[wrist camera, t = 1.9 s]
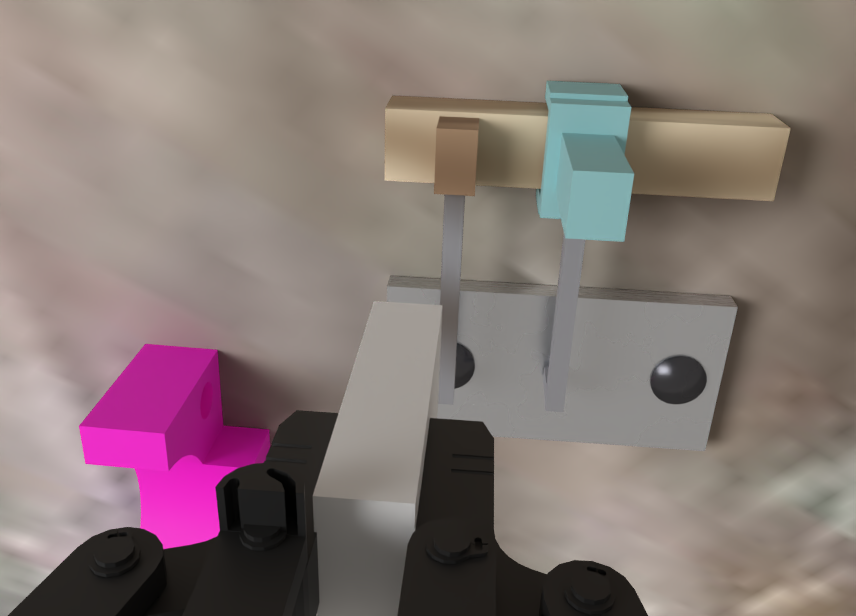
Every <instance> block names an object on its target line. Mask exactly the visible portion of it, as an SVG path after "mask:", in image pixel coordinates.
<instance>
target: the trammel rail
mask: <svg viewBox="0 0 856 616" xmlns="http://www.w3.org/2000/svg"><path fill="white" fill-rule="evenodd" d="M548 112H549V110H548V106H547V103H536V102H515V101H494V100H473V99H452V98H431V97H410V96H392V97H391V99H390V101H389V103H388V104H387V106H386V108H385V181H404V182H423V183H434V194H445V200H444V224H443V247H442V271H441V294H440V305H442V326H441V349H440V371H439V394H438V404H448V405H453V402H454V389H455V377H456V350H457V332H458V314H459V295H460V277H461V259H462V240H463V222H464V204H465V196H475V185H479V186H498V187H516V188H535V189H541V184H542V173H543V163H544V153H545V143H546V133H547V123H548ZM790 129H791V128H790V127H788V126H787V125H786V124H784V123H783V122H782V121H780V120H779V119H778V118H776V117H775V116H774V115H772V114H766V113H745V112H724V111H703V110H682V109H661V108H640V107H631V113H630V120H629V127H628V134H627V141H626V148H625V157H626V159H627V161H628V163H629V165H630V166H631V168H632V170H633V172H634V179H633V186H632V192H631V194H648V195H667V196H685V197H704V198H723V199H742V200H760V201H774V198H775V193H776V189H777V185H778V181H779V176H780V172H781V168H782V164H783V159H784V155H785V151H786V146H787V142H788V138H789V134H790Z"/></svg>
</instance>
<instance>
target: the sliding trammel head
mask: <svg viewBox="0 0 856 616" xmlns="http://www.w3.org/2000/svg"><path fill="white" fill-rule="evenodd" d="M545 99H546V102H547V106H548V110H549V112H548V123H547V133H546V143H545V153H544V163H543V173H542V184H541V189H536V200H537V207H538V214H540V218H554V219H561V221H562V226H563V230H564V236H563V245H562V254H561V262H560V271H559V280H558V289H557V297H556V306H555V315H554V324H553V332H552V341H551V350H550V359H549V367H544V376H543V387H544V397H545V410H546V411H552V412H563V411H564V403H565V395H566V387H567V379H568V371H569V364H570V356H571V348H572V340H573V332H574V324H575V317H576V309H577V301H578V293H579V285H580V277H581V270H582V262H583V254H584V246H585V239H586V240H603V241H621V242H624V239H625V232H626V225H627V219H628V212H629V206H630V199H631V192H632V186H633V179H634V172H633V170H632V168H631V166H630V165H629V163H628V161H627V159H626V157H625V148H626V141H627V134H628V127H629V120H630V113H631V106H630V104H629V103H628V95H627V94H626V92H625V91H624V90H623V88H622V87H621V85H620V84H606V83H585V82H563V81H547V84H546V95H545Z"/></svg>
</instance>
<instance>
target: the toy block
mask: <svg viewBox="0 0 856 616" xmlns="http://www.w3.org/2000/svg"><path fill="white" fill-rule="evenodd" d="M79 429H80V434H81V440H82V446H83V452H84V458H85V463H86V464H93V465H104V466H115V467H125V468H135V471H136V474H137V477H138V482H139V488H140V497H141V527H140V528H141V529H145V530H147V531H149V532H151V533H153V534H155V535H156V536H157V537H158V539H159V540H160V541H161V543H162V544H163V549H167V548H173V547H179V546H185V545H192V544H196V543H200V542H204V541H207V540H209V539H212V538H214V537H217V536H218V534H219V531H220V527H219V517H218V508H217V499H216V489H215V487H216V485H217V484H218V483H219V482H220V481H221V479H222V478H223V477H224V476H225V475H227V474H229V473H230V472H232V471H234V470H235V469H237V468H240V467H244V466H247V465H250V464H255V463H264V461H266V456H267V453H268V451H269V449H270V434H269V430H268V429H257V428H245V427H234V426H223V416H222V403H221V389H220V376H219V363H218V350H213V349H201V348H189V347H176V346H164V345H152V344H145V345H144V346H143V348H142V349H141V350H140V351H139V352H138V354H137V355H136V356H135V357H134V359H133V360H132V361H131V362H130V364H129V365H128V366H127V367H126V369H125V370H124V371H123V372H122V374H121V375H120V376H119V377H118V378H117V380H116V381H115V382H114V383H113V385H112V386H111V387H110V388H109V390H108V391H107V392H106V393H105V395H104V396H103V397H102V398H101V399H100V401H99V402H98V403H97V404H96V406H95V407H94V408H93V409H92V411H91V412H90V413H89V414H88V416H87V417H86V418H85V419H84V421H83V422H82V423H81V424H80V425H79Z"/></svg>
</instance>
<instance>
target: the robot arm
mask: <svg viewBox="0 0 856 616" xmlns="http://www.w3.org/2000/svg"><path fill="white" fill-rule="evenodd" d="M441 326H442V305H429V304H413V303H397V302H381V301H374V302H373V306H372V309H371V312H370V315H369V318H368V321H367V325H366V328H365V331H364V334H363V337H362V341H361V344H360V347H359V350H358V353H357V356H356V360H355V363H354V366H353V369H352V372H351V376H350V379H349V382H348V385H347V388H346V391H345V395H344V398H343V401H342V404H341V407H340V411H339V413H327V412H312V411H298V410H297V411H296V412H294V413H293V414H292V415H291V416H290V417H288V418H287V419H286V420H285V421H284V422H283V423H281V424H280V425H279V427H278V430H277V432H276V434H275V437H274V439H273V442H272V446H270V449H269V451H268V453H267V456H266V461H264V463H255V464H250V465H247V466H244V467H240V468H237V469H235V470H234V471H232V472H230V473H229V474H227V475H225V476H224V477H223V478H222V479H221V481H220V482H219V483H218V484H217V485H216V487H215V489H216V499H217V508H218V517H219V527H220V531H219V534H218V536H217V537H214V538H212V539H209V540H207V541H204V542H200V543H196V544H192V545H185V546H179V547H173V548H167V549H163V544H162V543H161V541H160V540H159V539H158V537H157V536H156V535H155V534H153V533H151V532H149V531H147V530H145V529H141V528H132V527H124V528H118V529H111V530H108V531H105V532H103V533H100V534H98V535H95V536H93V537H91V538H90V539H88V540H87V541H86V542H84V543H83V544H81V545H80V546H79V547H77V548H76V549H75V550H74V551H73V552H72V553H71V554H70V555H69V556H68V557H67V558H66V559H65V560H64V561H63V562H62V563H61V564H60V565H59V566H58V567H57V568H56V569H55V570H54V571H53V572H52V573H51V574H50V575H49V576H48V577H47V578H46V579H45V580H44V581H43V582H42V583H41V584H40V585H39V586H38V587H36V588H35V589H34V590H33V591H32V592H31V593H30V594H29V595H28V596H27V597H26V598H25V599H24V600H23V601H22V602H21V603H20V604H19V605H18V606H17V607H16V608H15V609H14V610H13V611H12V612H11V613H10V614H9V615H8V616H316V614H317V616H648V615H647V613H646V611H645V609H644V607H643V605H642V603H641V601H640V599H639V597H638V595H637V593H636V591H635V589H634V588H633V587H632V586H631V584H630V583H629V582H628V581H627V579H626V578H625V577H624V576H623V575H621V574H620V573H618V572H617V571H615V570H614V569H612V568H611V567H609V566H605V565H602V564H599V563H596V562H593V561H579V560H574V561H570V562H566V563H563V564H559V565H558V566H556V567H555V568H554V569H552V570H551V571H550V572H549V573H548V574H544V573H541V572H538V571H535V570H532V569H530V568H527V567H525V566H523V565H521V564H518V563H517V562H516V561H514V560H513V559H511V558H510V557H508V556H507V555H506V554H505V553H504V551H503V550H502V549H501V548H500V547H499V545H498V543H497V541H496V539H495V534H494V438H493V436H492V435H491V433H490V432H489V430H488V429H487V427H486V425H485V424H484V422H483V421H468V420H454V419H439V418H437V413H438V394H439V371H440V349H441Z"/></svg>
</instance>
